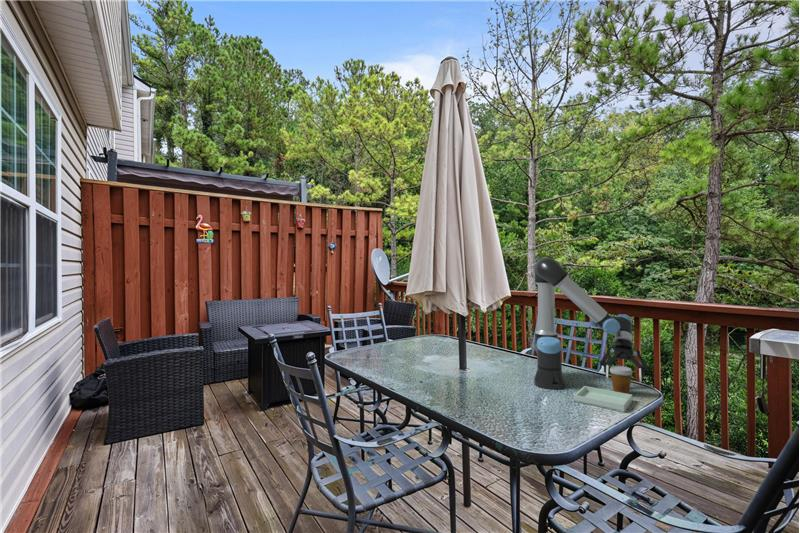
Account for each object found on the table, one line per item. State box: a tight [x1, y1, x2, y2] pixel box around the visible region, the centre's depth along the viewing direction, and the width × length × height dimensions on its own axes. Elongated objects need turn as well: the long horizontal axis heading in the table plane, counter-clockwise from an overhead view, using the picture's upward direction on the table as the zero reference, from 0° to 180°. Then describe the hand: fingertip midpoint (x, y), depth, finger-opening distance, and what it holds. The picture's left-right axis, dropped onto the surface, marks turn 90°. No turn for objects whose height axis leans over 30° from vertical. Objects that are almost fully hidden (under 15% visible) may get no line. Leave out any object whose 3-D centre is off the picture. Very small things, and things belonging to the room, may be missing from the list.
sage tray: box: [573, 385, 633, 413], centre depth 174 cm, size 20×16×3 cm
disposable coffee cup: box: [609, 365, 633, 394], centre depth 183 cm, size 10×10×12 cm
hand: (623, 380), depth 183 cm, fingers open, 13 cm apart
